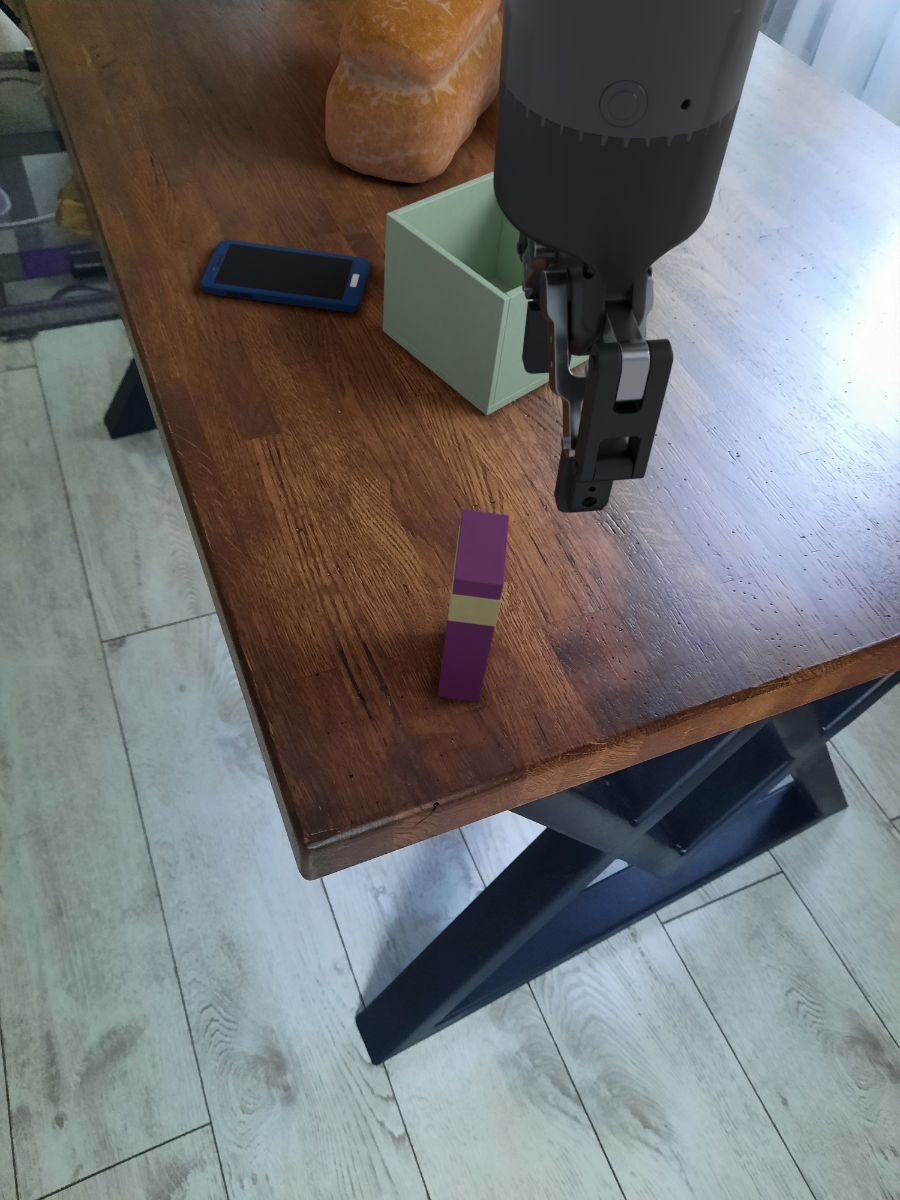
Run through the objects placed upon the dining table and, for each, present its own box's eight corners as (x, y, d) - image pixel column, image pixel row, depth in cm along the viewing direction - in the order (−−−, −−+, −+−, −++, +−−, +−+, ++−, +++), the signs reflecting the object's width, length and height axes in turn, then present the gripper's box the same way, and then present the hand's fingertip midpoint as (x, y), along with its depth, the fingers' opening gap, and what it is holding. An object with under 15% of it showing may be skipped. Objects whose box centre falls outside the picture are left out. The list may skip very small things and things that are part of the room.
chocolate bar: (444, 631, 61) (461, 508, 51) (485, 636, 61) (510, 514, 51) (436, 697, 58) (453, 579, 48) (479, 703, 58) (504, 586, 48)
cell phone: (358, 314, 80) (358, 306, 79) (198, 293, 80) (197, 285, 79) (371, 265, 85) (371, 258, 84) (219, 245, 84) (219, 237, 84)
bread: (312, 166, 94) (306, -1, 82) (402, 63, 110) (408, -90, 97) (437, 199, 92) (450, 33, 80) (511, 90, 108) (531, -63, 96)
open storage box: (494, 278, 85) (510, 164, 77) (598, 354, 80) (628, 240, 71) (382, 330, 79) (385, 213, 71) (486, 415, 74) (504, 300, 65)
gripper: (817, 190, 25) (681, 551, 38) (682, -47, 33) (609, 323, 46) (542, 205, 24) (502, 566, 38) (471, -40, 32) (459, 332, 46)
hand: (561, 432), depth 42 cm, fingers open, 8 cm apart
